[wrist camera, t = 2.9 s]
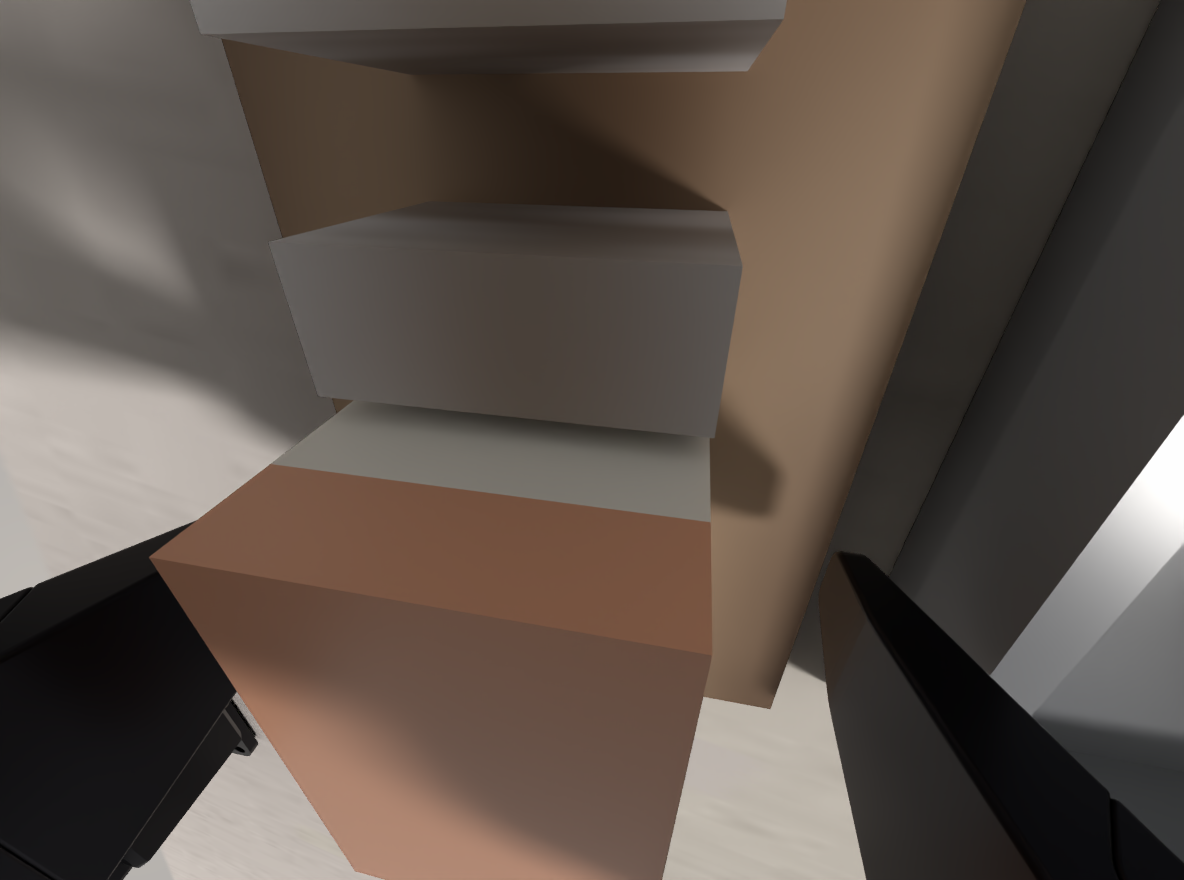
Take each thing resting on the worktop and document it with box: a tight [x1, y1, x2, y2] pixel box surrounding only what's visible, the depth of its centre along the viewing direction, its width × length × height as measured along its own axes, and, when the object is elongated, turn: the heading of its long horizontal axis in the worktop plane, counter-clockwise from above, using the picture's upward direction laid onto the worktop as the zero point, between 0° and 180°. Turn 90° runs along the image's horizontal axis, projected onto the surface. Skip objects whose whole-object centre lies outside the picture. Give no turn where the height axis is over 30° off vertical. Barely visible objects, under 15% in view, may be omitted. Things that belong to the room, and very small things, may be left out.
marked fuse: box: [149, 400, 712, 880], centre depth 7 cm, size 4×6×5 cm, turn 0°
